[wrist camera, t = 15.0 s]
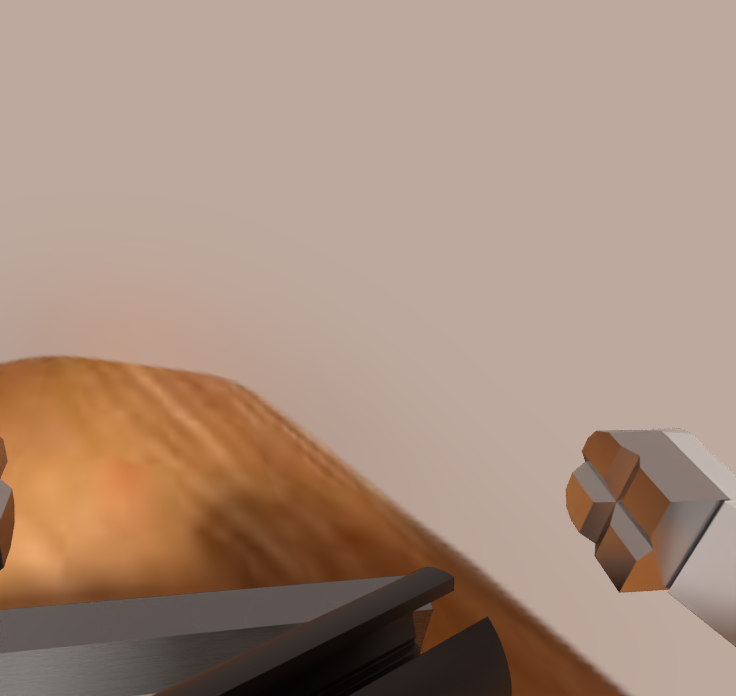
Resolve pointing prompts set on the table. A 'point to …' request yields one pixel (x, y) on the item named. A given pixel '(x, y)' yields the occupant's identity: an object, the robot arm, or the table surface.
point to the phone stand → (365, 653)
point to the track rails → (158, 636)
